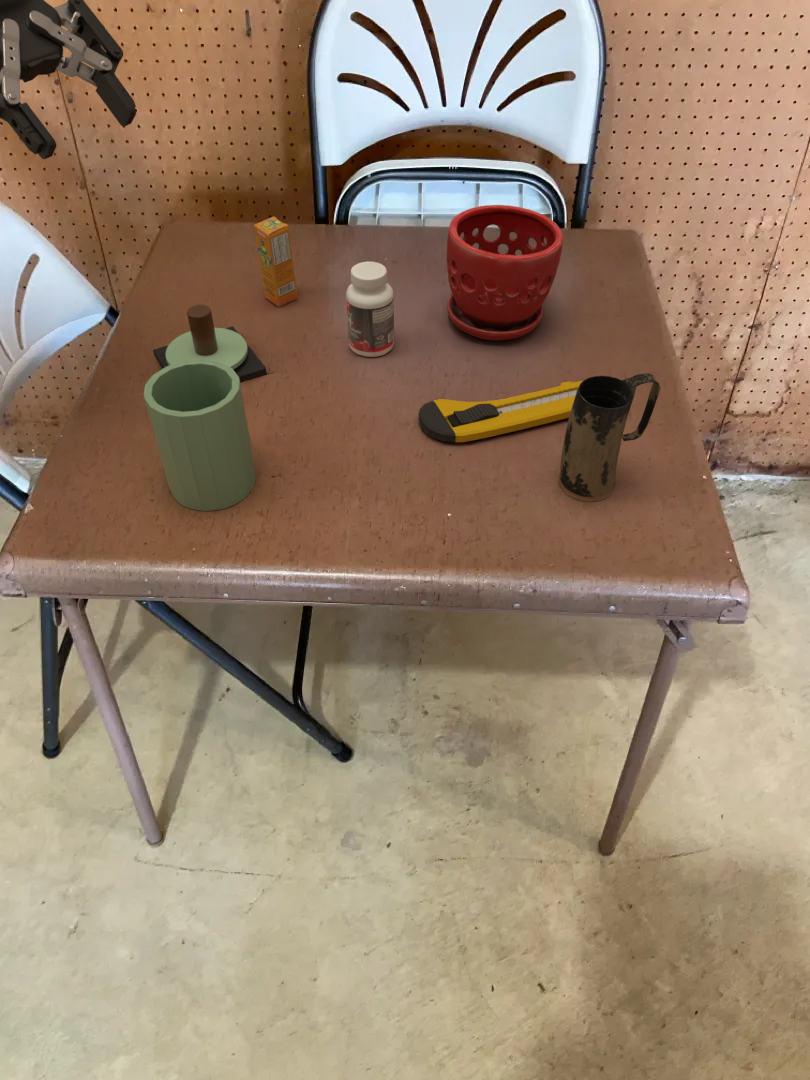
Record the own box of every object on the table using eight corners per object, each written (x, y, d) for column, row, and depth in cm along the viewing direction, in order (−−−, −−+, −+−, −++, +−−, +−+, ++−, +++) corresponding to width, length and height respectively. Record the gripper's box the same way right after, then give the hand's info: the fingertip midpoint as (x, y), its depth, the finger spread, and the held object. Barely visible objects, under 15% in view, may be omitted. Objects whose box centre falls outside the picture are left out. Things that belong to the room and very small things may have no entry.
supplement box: (261, 298, 107) (251, 222, 100) (284, 289, 109) (275, 214, 101) (277, 309, 105) (267, 233, 98) (299, 299, 107) (291, 224, 100)
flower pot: (480, 362, 98) (487, 267, 89) (424, 308, 105) (426, 216, 97) (572, 333, 102) (587, 239, 93) (512, 283, 110) (521, 192, 101)
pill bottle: (339, 344, 100) (334, 269, 93) (373, 327, 102) (371, 252, 95) (369, 364, 97) (366, 287, 90) (403, 346, 100) (403, 270, 93)
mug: (568, 506, 81) (588, 406, 72) (548, 469, 85) (565, 369, 76) (644, 493, 82) (673, 393, 74) (621, 456, 86) (646, 358, 77)
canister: (187, 522, 80) (162, 427, 71) (158, 471, 85) (131, 376, 76) (269, 492, 82) (254, 397, 74) (236, 444, 87) (218, 349, 79)
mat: (183, 400, 92) (182, 394, 92) (154, 355, 98) (152, 349, 98) (267, 373, 96) (266, 367, 95) (233, 331, 102) (232, 325, 101)
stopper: (183, 391, 92) (172, 343, 88) (156, 350, 98) (144, 302, 93) (261, 367, 96) (254, 319, 91) (230, 328, 101) (222, 281, 96)
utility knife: (412, 415, 91) (412, 400, 89) (595, 372, 96) (598, 357, 95) (435, 454, 86) (436, 439, 85) (627, 406, 92) (630, 391, 90)
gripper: (-123, -65, 60) (33, 138, 64) (40, -99, 68) (170, 84, 72) (-131, 7, 66) (12, 189, 70) (20, -31, 74) (140, 134, 78)
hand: (92, 136), depth 71 cm, fingers open, 8 cm apart
